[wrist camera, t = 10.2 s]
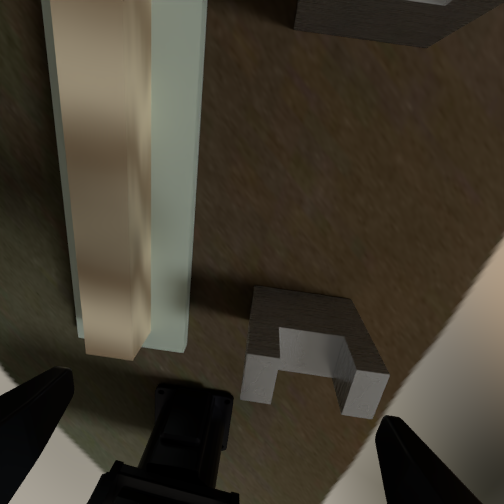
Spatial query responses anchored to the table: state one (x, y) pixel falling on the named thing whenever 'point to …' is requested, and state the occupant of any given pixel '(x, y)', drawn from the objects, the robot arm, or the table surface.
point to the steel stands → (326, 307)
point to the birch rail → (108, 164)
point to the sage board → (159, 162)
